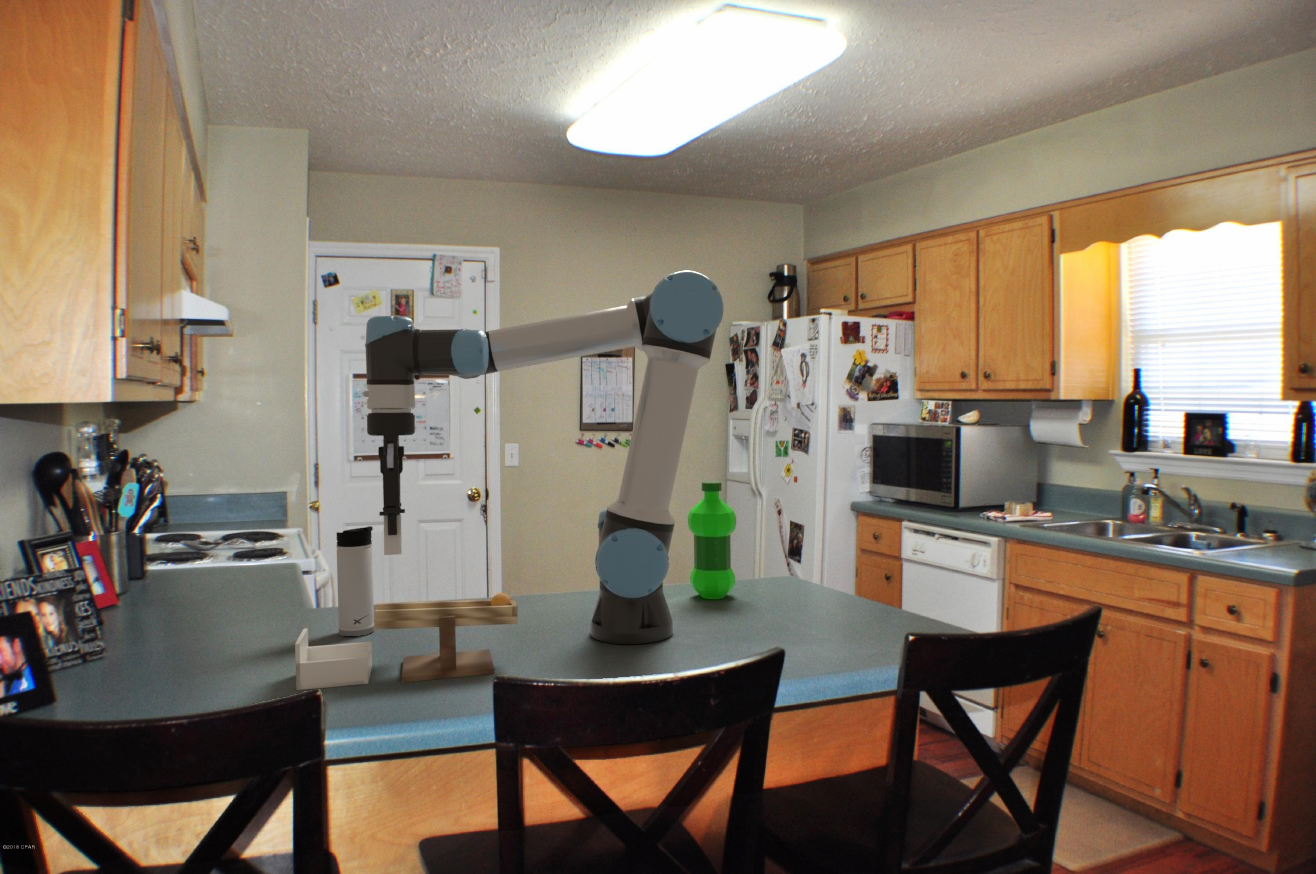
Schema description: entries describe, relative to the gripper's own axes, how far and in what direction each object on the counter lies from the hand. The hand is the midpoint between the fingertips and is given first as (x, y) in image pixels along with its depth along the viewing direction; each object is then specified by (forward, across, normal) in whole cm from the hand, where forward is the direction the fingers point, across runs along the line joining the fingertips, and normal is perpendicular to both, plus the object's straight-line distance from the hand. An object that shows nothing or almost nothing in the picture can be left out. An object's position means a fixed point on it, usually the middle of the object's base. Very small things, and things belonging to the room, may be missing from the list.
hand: (393, 553), depth 141 cm
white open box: (+18, +6, -9) cm, 21 cm away
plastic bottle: (+18, -28, +66) cm, 73 cm away
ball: (+8, +6, +17) cm, 20 cm away
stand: (+18, +6, +8) cm, 21 cm away
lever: (+11, +3, +8) cm, 14 cm away
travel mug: (+18, -21, -7) cm, 29 cm away
